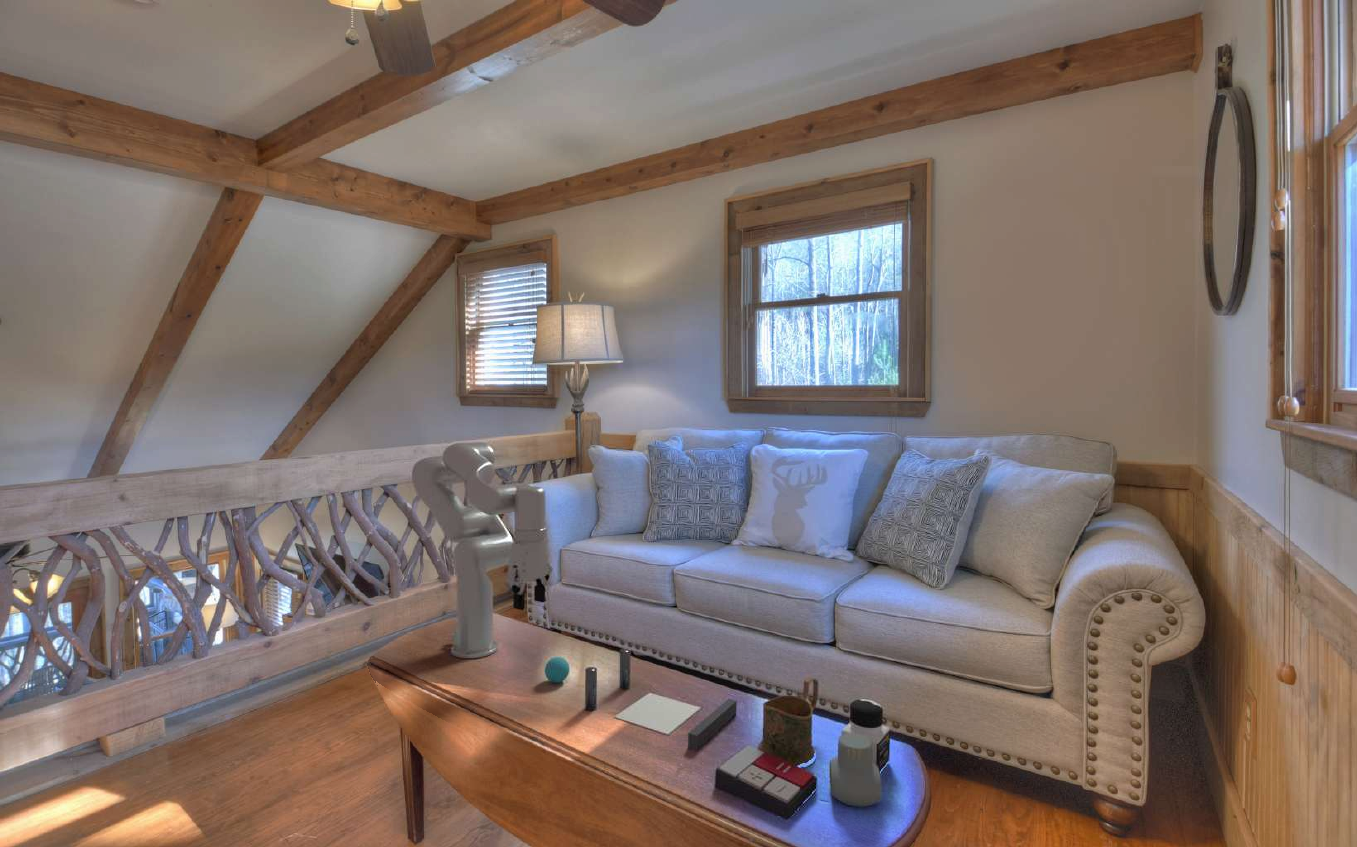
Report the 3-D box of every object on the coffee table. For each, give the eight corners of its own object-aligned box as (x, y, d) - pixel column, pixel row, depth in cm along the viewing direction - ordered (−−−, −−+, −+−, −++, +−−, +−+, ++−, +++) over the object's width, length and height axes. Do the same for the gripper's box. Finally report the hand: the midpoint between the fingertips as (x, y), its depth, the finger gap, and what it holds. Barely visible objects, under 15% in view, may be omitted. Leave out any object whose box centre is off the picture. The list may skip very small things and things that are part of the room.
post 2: (617, 687, 156) (617, 651, 155) (623, 684, 158) (624, 647, 158) (626, 690, 154) (626, 653, 154) (632, 686, 156) (632, 650, 156)
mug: (840, 739, 133) (841, 682, 132) (797, 776, 119) (798, 712, 119) (791, 721, 140) (792, 667, 140) (746, 754, 127) (747, 694, 126)
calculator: (788, 801, 106) (714, 765, 115) (787, 826, 106) (713, 788, 116) (818, 772, 115) (747, 740, 124) (816, 795, 115) (746, 762, 124)
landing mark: (614, 717, 141) (614, 716, 141) (649, 693, 153) (649, 692, 153) (668, 735, 133) (668, 734, 133) (700, 708, 145) (700, 707, 145)
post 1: (582, 709, 144) (582, 669, 144) (589, 704, 147) (590, 666, 146) (591, 712, 143) (591, 672, 143) (598, 707, 145) (599, 668, 145)
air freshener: (828, 776, 119) (829, 723, 119) (874, 781, 118) (875, 727, 118) (832, 812, 109) (833, 754, 108) (882, 818, 107) (883, 759, 107)
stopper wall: (688, 747, 129) (688, 732, 129) (728, 711, 144) (728, 698, 144) (696, 750, 128) (696, 735, 128) (736, 714, 143) (736, 700, 143)
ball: (539, 683, 158) (539, 659, 157) (556, 674, 163) (556, 651, 163) (557, 689, 154) (558, 664, 154) (574, 680, 160) (574, 656, 159)
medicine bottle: (876, 780, 118) (878, 716, 118) (840, 766, 123) (841, 704, 122) (889, 763, 124) (891, 702, 124) (854, 751, 128) (855, 691, 128)
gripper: (542, 528, 172) (542, 594, 172) (493, 539, 157) (493, 611, 158) (564, 531, 168) (563, 599, 169) (515, 543, 153) (515, 617, 154)
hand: (529, 604), depth 163 cm, fingers open, 6 cm apart
